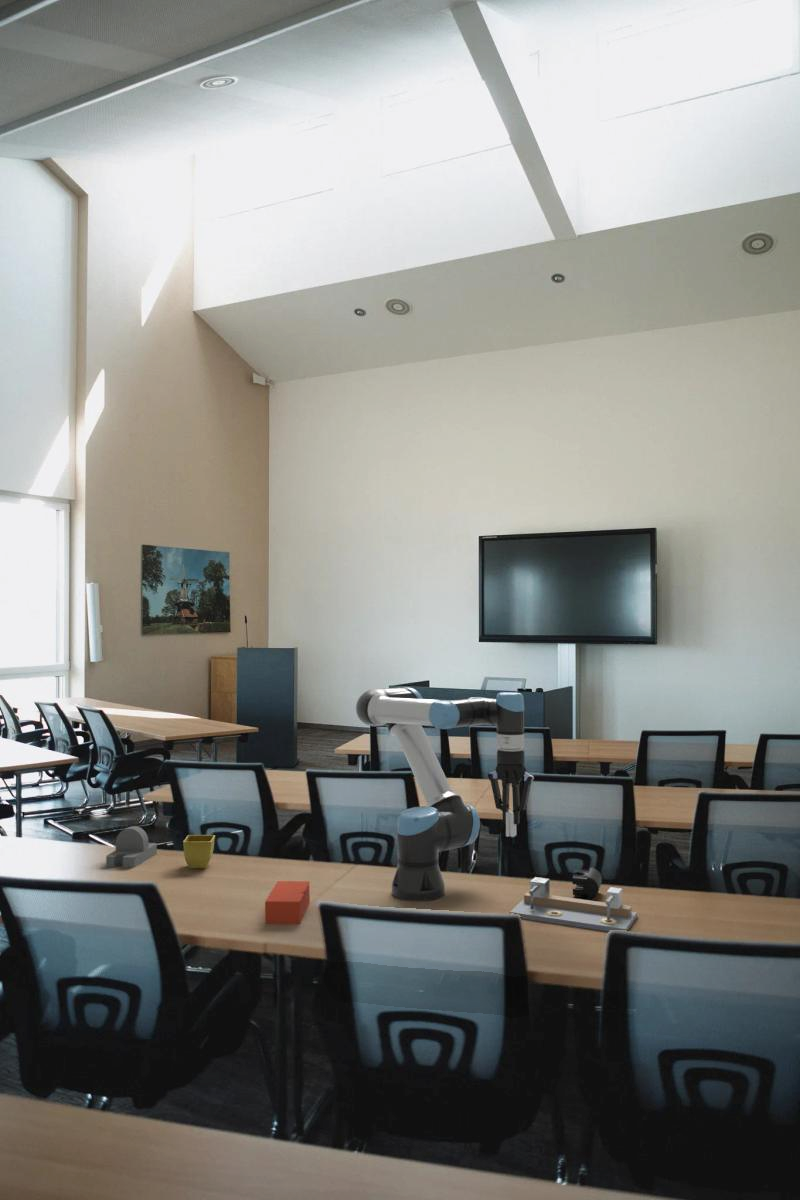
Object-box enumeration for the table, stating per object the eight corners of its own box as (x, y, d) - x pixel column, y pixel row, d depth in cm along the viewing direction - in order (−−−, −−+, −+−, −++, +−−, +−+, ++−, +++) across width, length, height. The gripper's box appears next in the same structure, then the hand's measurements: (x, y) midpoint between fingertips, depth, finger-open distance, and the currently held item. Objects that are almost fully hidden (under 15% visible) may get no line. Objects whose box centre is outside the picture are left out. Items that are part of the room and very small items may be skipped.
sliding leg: (523, 908, 231) (523, 887, 231) (535, 897, 240) (535, 877, 240) (538, 911, 229) (538, 889, 229) (549, 899, 238) (549, 878, 238)
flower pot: (215, 862, 283) (215, 834, 283) (211, 870, 274) (211, 841, 274) (187, 863, 282) (187, 835, 283) (182, 871, 274) (182, 841, 274)
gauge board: (509, 916, 230) (509, 888, 230) (526, 901, 242) (526, 874, 243) (625, 933, 217) (625, 904, 217) (637, 916, 229) (636, 888, 229)
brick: (277, 902, 243) (277, 880, 243) (309, 902, 243) (309, 881, 243) (264, 924, 225) (264, 901, 225) (299, 925, 225) (299, 901, 225)
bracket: (157, 854, 295) (157, 821, 295) (133, 869, 277) (133, 834, 277) (130, 853, 296) (131, 820, 296) (104, 867, 278) (105, 833, 279)
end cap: (598, 902, 241) (598, 877, 241) (572, 900, 243) (572, 875, 243) (602, 892, 251) (601, 868, 251) (576, 890, 253) (576, 866, 253)
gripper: (482, 749, 241) (482, 836, 241) (530, 752, 235) (531, 841, 235) (491, 745, 248) (492, 830, 247) (538, 748, 242) (539, 835, 241)
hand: (511, 835), depth 241 cm, fingers closed
